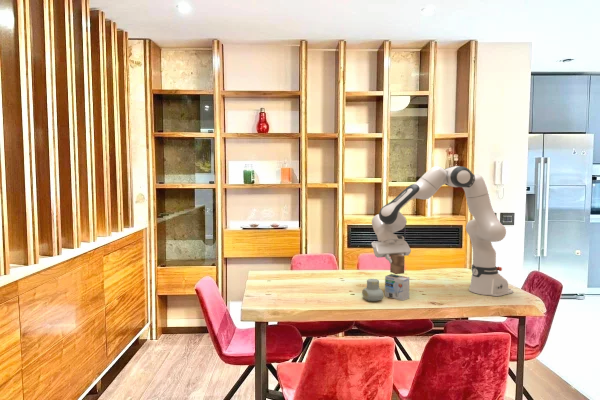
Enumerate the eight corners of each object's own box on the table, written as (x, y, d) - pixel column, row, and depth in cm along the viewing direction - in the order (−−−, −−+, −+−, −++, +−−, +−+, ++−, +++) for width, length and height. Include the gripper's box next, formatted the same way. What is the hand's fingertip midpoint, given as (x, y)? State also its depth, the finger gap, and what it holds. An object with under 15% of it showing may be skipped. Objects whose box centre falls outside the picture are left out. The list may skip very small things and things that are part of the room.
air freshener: (360, 297, 192) (360, 278, 191) (375, 295, 194) (375, 276, 193) (370, 303, 181) (370, 283, 181) (385, 302, 183) (385, 282, 183)
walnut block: (398, 271, 194) (398, 254, 194) (404, 273, 190) (404, 255, 189) (390, 272, 193) (390, 254, 193) (395, 274, 188) (395, 256, 188)
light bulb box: (384, 296, 193) (384, 275, 193) (390, 293, 198) (391, 273, 198) (403, 300, 186) (403, 279, 185) (409, 297, 191) (409, 277, 190)
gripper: (372, 237, 194) (381, 260, 186) (406, 236, 201) (417, 257, 192) (368, 245, 199) (377, 267, 190) (401, 243, 205) (411, 264, 196)
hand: (397, 262), depth 191 cm, fingers closed on walnut block, 5 cm apart
